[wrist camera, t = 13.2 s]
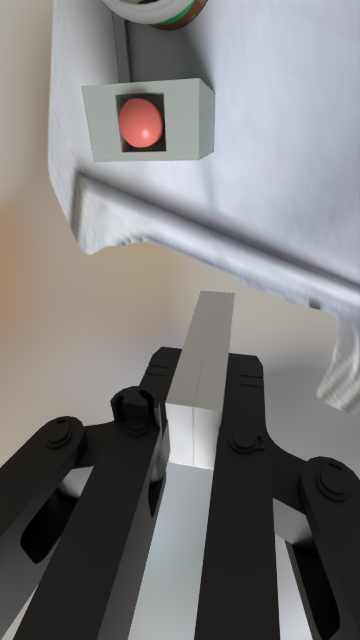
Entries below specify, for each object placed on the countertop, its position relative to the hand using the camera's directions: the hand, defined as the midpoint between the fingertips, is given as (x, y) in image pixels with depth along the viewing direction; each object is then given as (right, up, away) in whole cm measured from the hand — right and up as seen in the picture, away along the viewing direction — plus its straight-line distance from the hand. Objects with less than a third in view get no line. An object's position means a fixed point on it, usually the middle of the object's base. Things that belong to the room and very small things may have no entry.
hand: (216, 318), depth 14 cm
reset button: (-5, +18, +13) cm, 22 cm away
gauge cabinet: (-3, +23, +21) cm, 32 cm away
